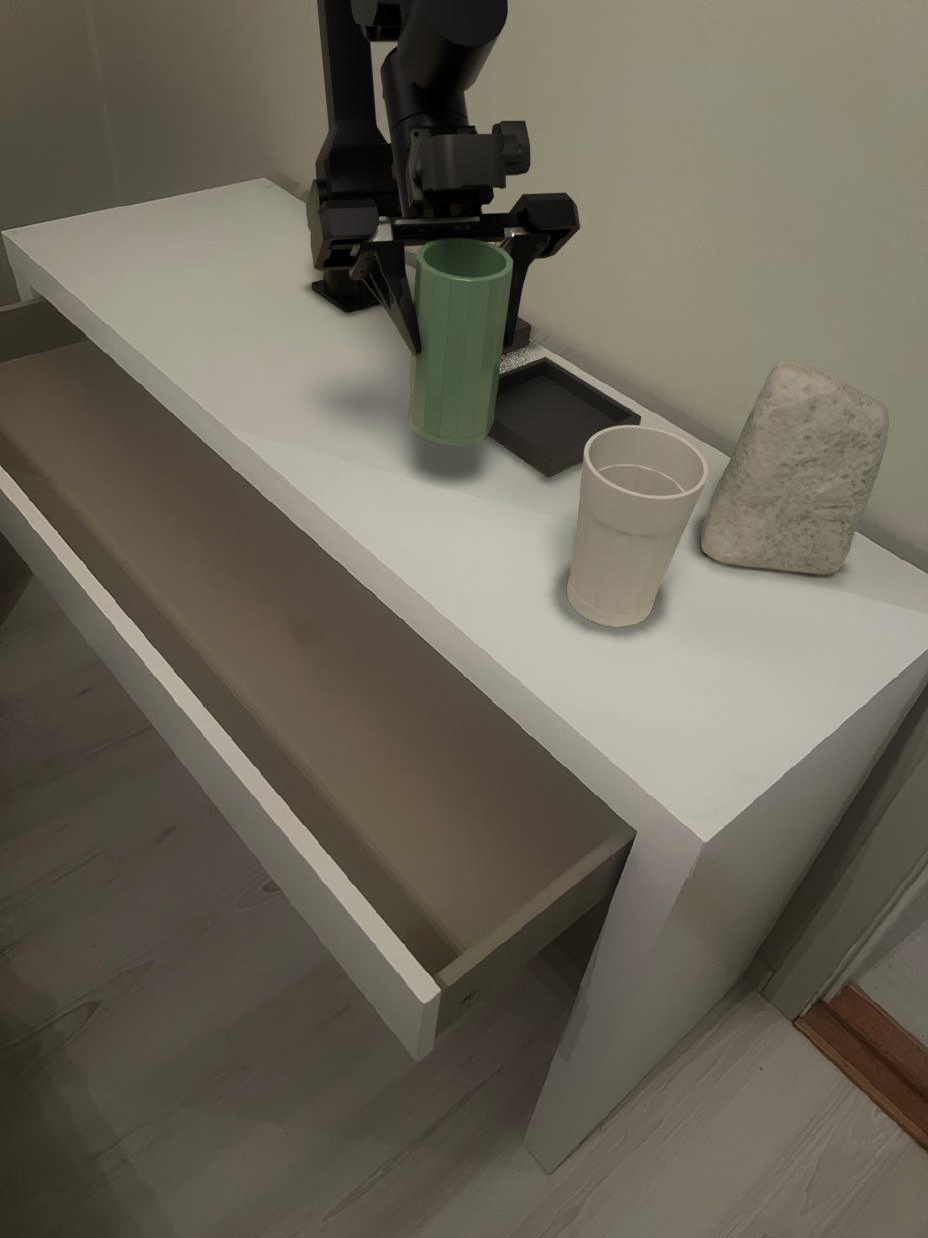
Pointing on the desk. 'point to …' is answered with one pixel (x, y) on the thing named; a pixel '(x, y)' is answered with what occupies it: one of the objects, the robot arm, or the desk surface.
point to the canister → (458, 338)
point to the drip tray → (552, 415)
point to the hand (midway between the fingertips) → (463, 350)
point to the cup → (630, 520)
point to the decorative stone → (797, 474)
